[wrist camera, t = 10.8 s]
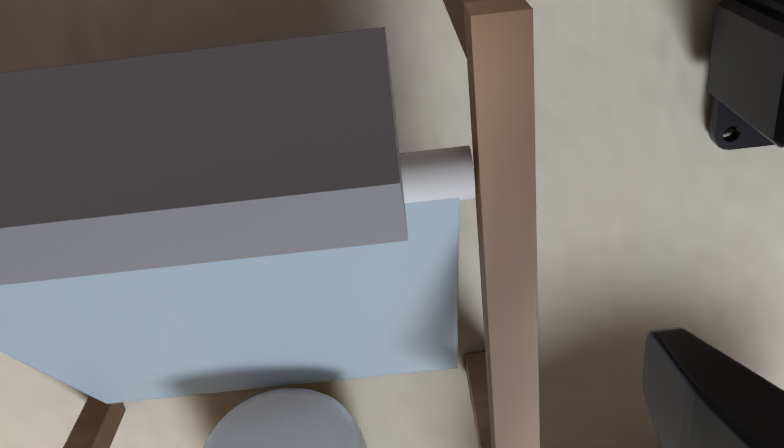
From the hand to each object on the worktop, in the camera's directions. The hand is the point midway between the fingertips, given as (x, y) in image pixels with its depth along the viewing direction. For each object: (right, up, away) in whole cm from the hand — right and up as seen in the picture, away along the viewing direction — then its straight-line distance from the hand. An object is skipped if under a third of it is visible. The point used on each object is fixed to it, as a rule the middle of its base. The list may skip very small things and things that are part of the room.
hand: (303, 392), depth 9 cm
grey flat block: (-3, +2, +9) cm, 10 cm away
